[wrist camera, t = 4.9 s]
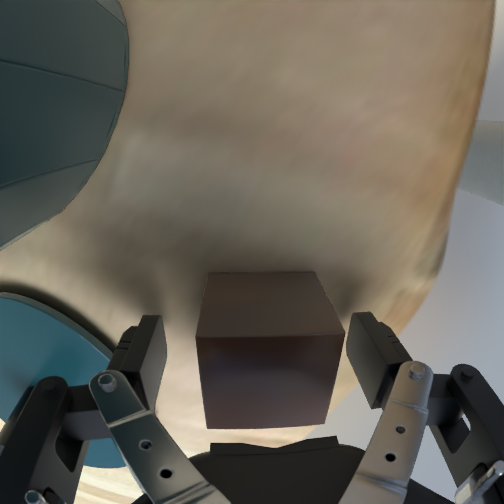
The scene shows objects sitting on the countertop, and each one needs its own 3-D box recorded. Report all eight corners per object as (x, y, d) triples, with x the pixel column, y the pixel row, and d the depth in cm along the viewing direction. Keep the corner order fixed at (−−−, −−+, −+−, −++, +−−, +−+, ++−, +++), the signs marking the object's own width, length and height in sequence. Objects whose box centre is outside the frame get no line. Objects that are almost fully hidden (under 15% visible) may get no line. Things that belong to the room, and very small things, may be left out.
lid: (131, 291, 13) (80, 384, 8) (176, 467, 19) (167, 536, 13) (-58, 280, 13) (-114, 325, 7) (16, 433, 18) (-8, 483, 12)
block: (315, 271, 13) (346, 331, 9) (305, 355, 15) (324, 424, 11) (207, 272, 13) (195, 336, 9) (212, 357, 15) (206, 429, 11)
